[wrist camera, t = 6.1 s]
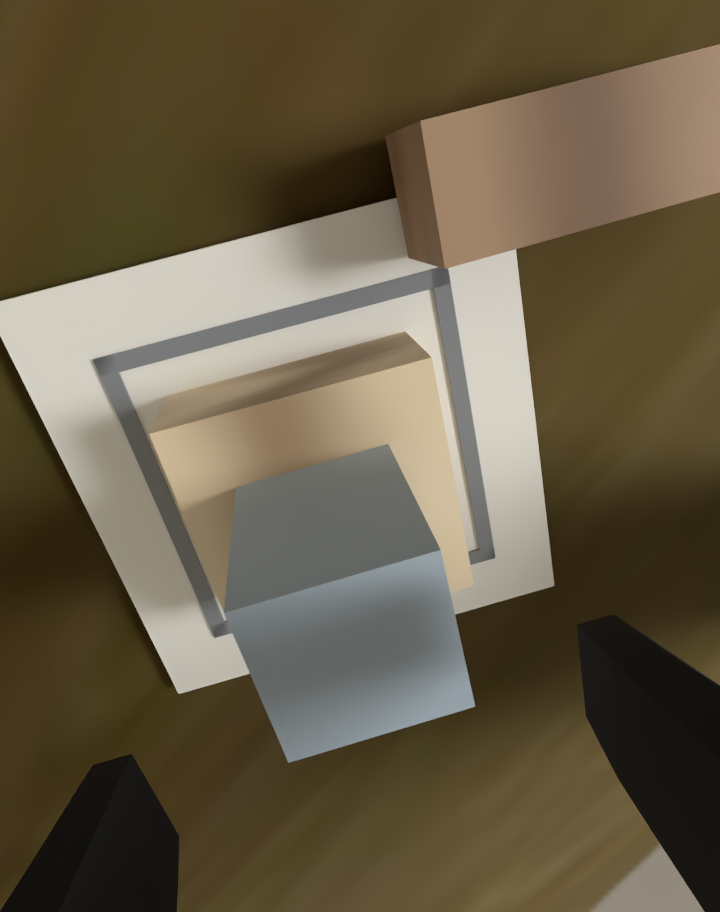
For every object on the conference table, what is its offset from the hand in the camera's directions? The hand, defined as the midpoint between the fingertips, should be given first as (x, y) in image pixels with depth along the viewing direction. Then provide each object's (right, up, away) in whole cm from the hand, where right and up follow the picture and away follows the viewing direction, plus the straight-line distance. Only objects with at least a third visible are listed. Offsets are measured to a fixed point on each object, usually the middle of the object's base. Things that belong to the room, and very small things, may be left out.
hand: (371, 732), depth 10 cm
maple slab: (-1, +4, +9) cm, 10 cm away
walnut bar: (+5, +12, +6) cm, 15 cm away
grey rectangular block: (-1, +2, +7) cm, 7 cm away
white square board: (-1, +4, +9) cm, 10 cm away
